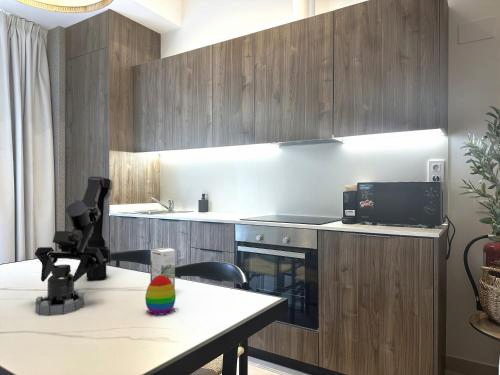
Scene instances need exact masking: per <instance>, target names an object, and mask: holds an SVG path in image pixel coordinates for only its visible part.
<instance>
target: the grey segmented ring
mask: <svg viewBox="0 0 500 375" xmlns="http://www.w3.org/2000/svg"><path fill="white" fill-rule="evenodd" d="M84 306H85V292H79V290H78V289H74V301H73V299H72V298H70V299H66V300H63V304H56V305H51V301H47V295H46V296H44V297H43V296H40V295H39V296H36V298H35V309H34V310H35V313H36V314H37V315H38V316H48V317H49V316H59V315H60V316H61V315H66V314H69V313H74V312H76V311H78V310H80V309H83V308H84Z"/></svg>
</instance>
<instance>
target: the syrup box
mask: <svg viewBox="0 0 500 375" xmlns="http://www.w3.org/2000/svg"><path fill="white" fill-rule="evenodd" d="M159 275H164V276H166V277H167V278H169V280H170V281H171V282H172V284H173V286H174V289H175V286H176V281H175V280H176V249H174V248H171V247H161V248H156V249H155V248H154V249H151V250H150V282H151V281H152V280H153V279H154V278H155V277H156V276H159ZM150 282H149V283H150ZM175 290H176V289H175Z"/></svg>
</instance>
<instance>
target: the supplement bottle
mask: <svg viewBox="0 0 500 375" xmlns="http://www.w3.org/2000/svg"><path fill="white" fill-rule="evenodd" d="M71 268H72V267H71V265H70V264H57V265H55V266H53V267H52V271H51V273H50V274H51V275H49V276H48V278H47V295H46V296H47V301H51V305H56V304H63V300H66V299H70V298H72V299H73V301H74V290H75V282H73V277H74V275H73V274H72V273H71V271H72V270H71Z"/></svg>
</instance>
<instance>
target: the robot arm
mask: <svg viewBox="0 0 500 375" xmlns="http://www.w3.org/2000/svg"><path fill="white" fill-rule="evenodd" d="M111 190H113V180H112V179H110V178H109V177H103V176H100V175H99V176H97V175H96V176H95V175H94V176H89V177H88V178H87V185H86V190H85V192H84V195H83V198H82V199H76V200H75V201H74V202H73V203H71V204H69V205H68V206H67V207H66V208H65V214H66V216H67V219H68V222H69V225H70V226H71V227H72V228H71V230H70V231H67V230H66V231H65V230H60V231H59V230H55V231H54V234H53V235H54V236H53V239H52V243H54V244H56V245H57V248H58V249H59V250H61V251H55V250H54V248H53V247H52V246H39V247H37V248H36V251H35V252H34V256H35V257H36V258H37V259H38V260H39V262H40V263H41V275H40V276H41V277H40V280H41V282H43V283H44V282H45V280H48V278H49V277H50V274H51V272H52V267H53V266H56V265H55V264H56V263H57V262H58V260H59V259H63V260H65V259H66V260H67V259H68V260H79V263H78V266H77V268H76V270H75V273H74V275H73V276H74V277H73V282H74V283H76V282H77V281H78V280H80V279H81V278H82V276H84V275H85V274H86V279H87V281H88V282H89V281H100V280H101V281H102V280H107V277H108V273H107V271H108V270H107V264H108V263H112V255H111V249H110V248H109V246H108V242H107V240H106V239H105V237H104V235H105V220H106V219H105V218H106V215H105V214H106V203H107V200H108V198H109V197H110V196H111V192H112V191H111Z"/></svg>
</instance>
